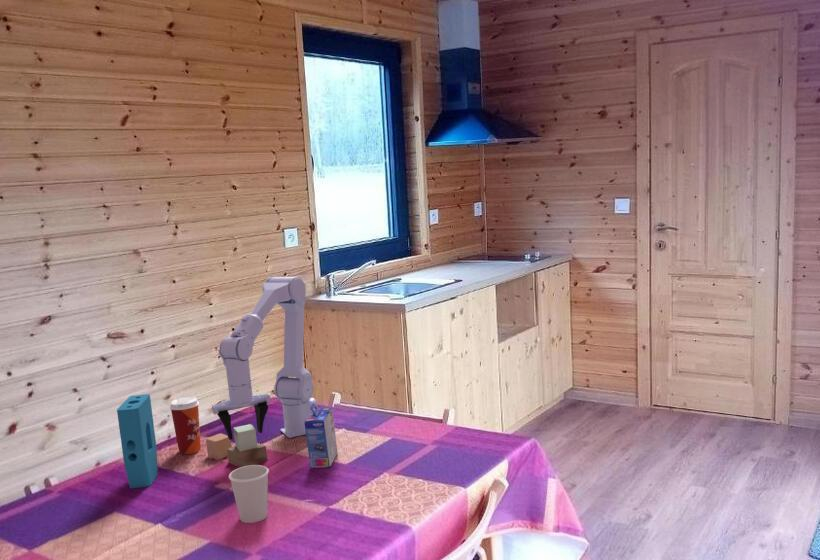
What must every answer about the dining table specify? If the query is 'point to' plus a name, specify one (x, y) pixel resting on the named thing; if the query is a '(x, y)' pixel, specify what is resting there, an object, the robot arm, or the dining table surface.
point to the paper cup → (186, 424)
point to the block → (138, 440)
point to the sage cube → (245, 437)
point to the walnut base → (247, 456)
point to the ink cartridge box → (321, 437)
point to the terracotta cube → (218, 446)
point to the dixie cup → (250, 492)
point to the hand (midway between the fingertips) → (245, 435)
